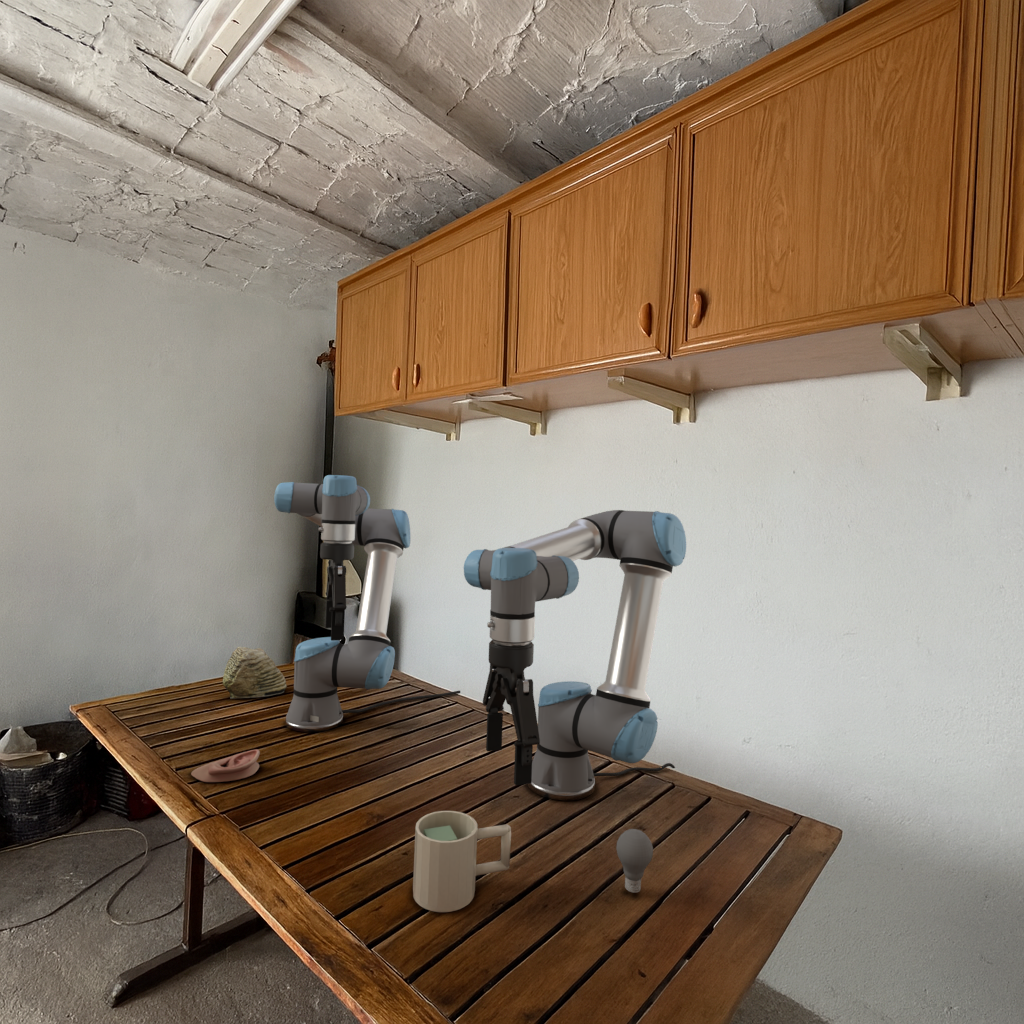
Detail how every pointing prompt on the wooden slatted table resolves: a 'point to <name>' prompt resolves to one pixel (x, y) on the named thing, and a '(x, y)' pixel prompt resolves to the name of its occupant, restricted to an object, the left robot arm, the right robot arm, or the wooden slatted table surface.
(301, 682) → the left robot arm
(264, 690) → the fossil
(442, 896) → the mug
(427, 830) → the block
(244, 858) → the wooden slatted table surface
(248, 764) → the anatomical model
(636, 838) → the light bulb
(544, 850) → the wooden slatted table surface
